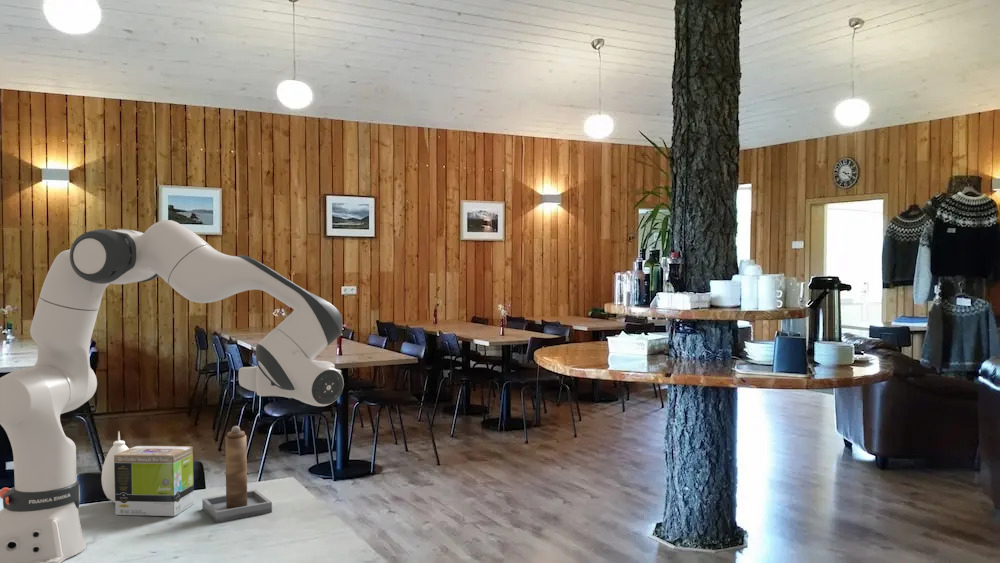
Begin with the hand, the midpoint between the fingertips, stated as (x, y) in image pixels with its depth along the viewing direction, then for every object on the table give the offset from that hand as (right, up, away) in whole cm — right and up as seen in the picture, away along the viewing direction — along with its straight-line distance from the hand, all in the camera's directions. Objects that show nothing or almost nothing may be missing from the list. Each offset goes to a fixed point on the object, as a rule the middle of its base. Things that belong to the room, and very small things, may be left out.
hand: (276, 369), depth 173 cm
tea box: (-33, -36, +13) cm, 51 cm away
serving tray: (-13, -36, +13) cm, 40 cm away
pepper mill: (-13, -35, +13) cm, 39 cm away
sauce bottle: (-44, -36, +19) cm, 60 cm away
